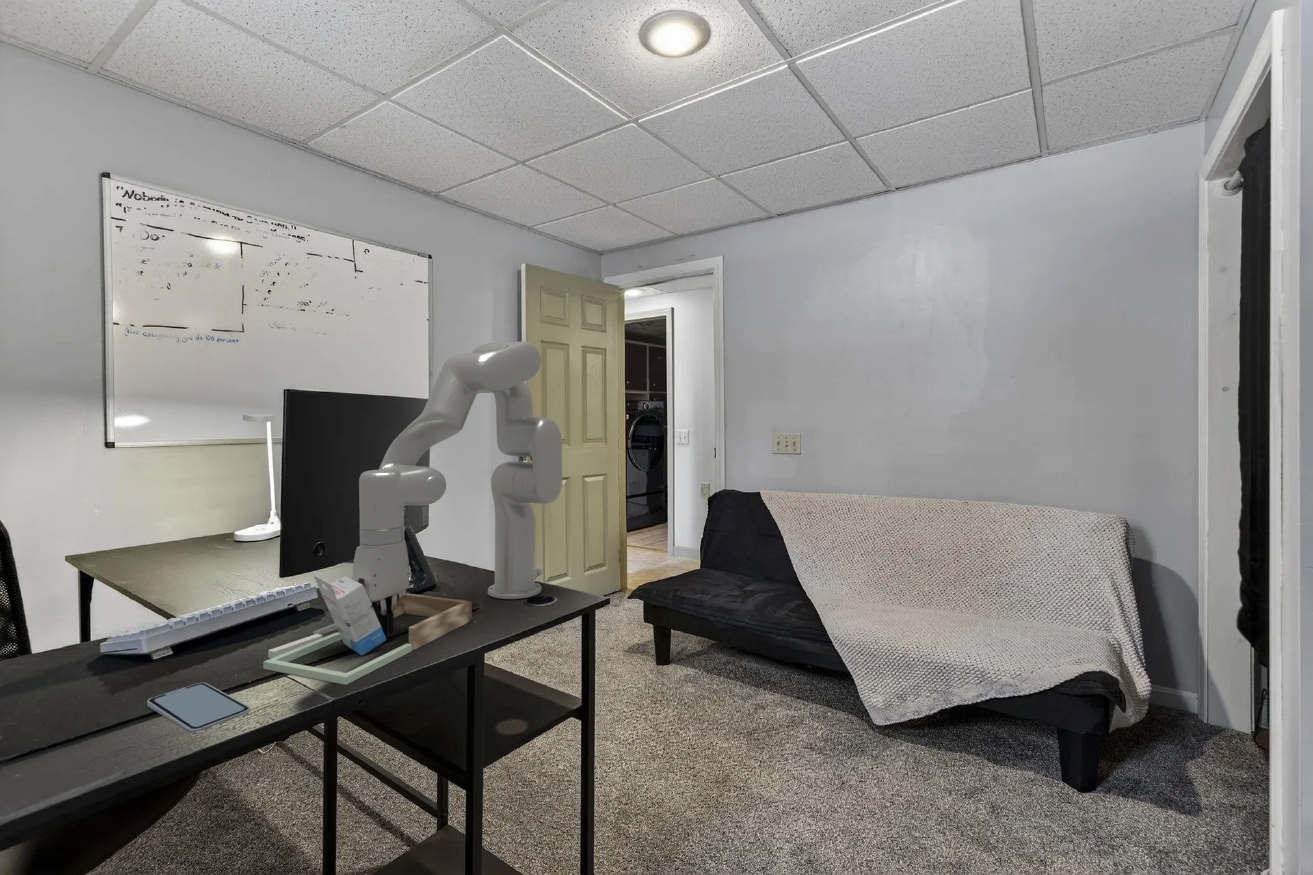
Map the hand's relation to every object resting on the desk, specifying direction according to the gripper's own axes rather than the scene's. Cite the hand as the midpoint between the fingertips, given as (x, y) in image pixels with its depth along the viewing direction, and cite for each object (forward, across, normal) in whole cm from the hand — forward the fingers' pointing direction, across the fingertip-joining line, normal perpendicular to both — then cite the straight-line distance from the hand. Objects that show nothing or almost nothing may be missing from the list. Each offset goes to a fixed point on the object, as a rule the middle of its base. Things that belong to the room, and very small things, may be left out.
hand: (383, 633), depth 112 cm
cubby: (+2, -7, 0) cm, 7 cm away
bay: (+1, +9, 0) cm, 9 cm away
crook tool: (+2, -3, -12) cm, 12 cm away
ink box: (+1, +4, -1) cm, 4 cm away
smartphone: (+2, +30, -5) cm, 30 cm away
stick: (+2, +9, -11) cm, 14 cm away
